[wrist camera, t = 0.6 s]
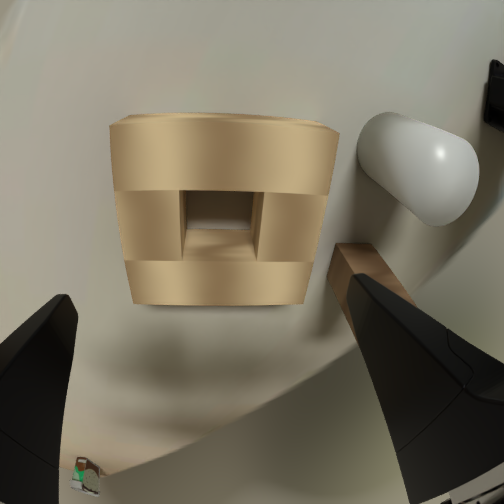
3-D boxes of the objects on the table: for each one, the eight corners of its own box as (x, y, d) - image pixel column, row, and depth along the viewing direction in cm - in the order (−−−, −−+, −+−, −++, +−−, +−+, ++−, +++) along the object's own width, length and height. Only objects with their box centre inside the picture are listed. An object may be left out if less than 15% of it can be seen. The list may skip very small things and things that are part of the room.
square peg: (371, 243, 24) (418, 308, 17) (360, 275, 26) (398, 342, 19) (335, 243, 23) (377, 312, 17) (326, 276, 25) (359, 348, 18)
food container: (65, 451, 51) (60, 483, 43) (84, 456, 52) (80, 488, 44) (84, 465, 58) (81, 493, 50) (101, 468, 59) (99, 497, 51)
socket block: (316, 121, 18) (339, 133, 14) (291, 270, 24) (303, 303, 21) (130, 115, 16) (109, 125, 13) (143, 269, 23) (133, 303, 19)
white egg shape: (423, 121, 18) (487, 148, 12) (408, 185, 21) (462, 229, 15) (364, 105, 17) (425, 125, 11) (350, 177, 20) (399, 223, 14)
